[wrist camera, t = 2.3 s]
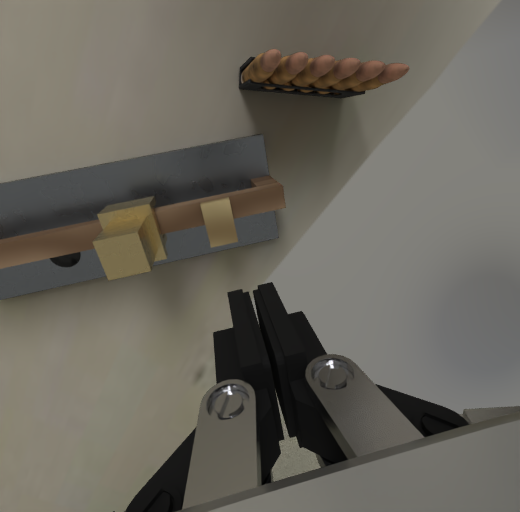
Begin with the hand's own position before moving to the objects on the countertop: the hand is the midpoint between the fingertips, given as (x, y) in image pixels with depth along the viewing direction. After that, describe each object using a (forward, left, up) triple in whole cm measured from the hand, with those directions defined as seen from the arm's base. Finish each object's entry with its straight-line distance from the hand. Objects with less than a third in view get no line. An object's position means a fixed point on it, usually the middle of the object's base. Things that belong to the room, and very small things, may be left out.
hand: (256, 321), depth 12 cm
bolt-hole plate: (0, -10, -24) cm, 26 cm away
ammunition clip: (-9, +9, -24) cm, 28 cm away
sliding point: (+1, -8, -22) cm, 24 cm away
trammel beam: (+1, -10, -23) cm, 25 cm away
